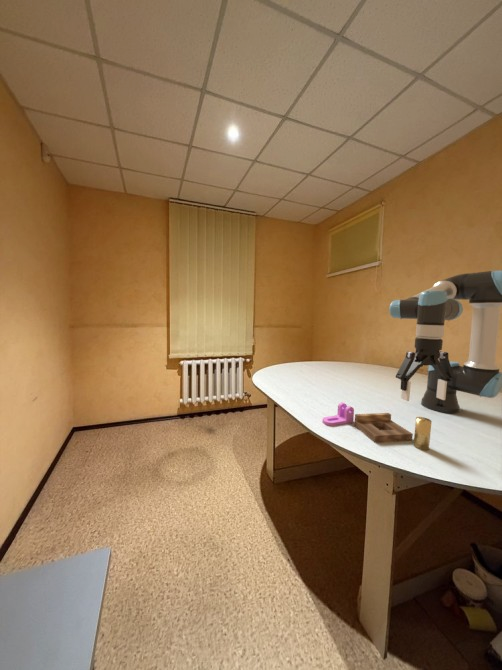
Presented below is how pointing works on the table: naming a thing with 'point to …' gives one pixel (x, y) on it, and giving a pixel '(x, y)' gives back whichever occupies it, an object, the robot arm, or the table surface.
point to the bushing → (422, 433)
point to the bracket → (340, 416)
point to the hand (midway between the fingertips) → (423, 399)
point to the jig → (377, 421)
